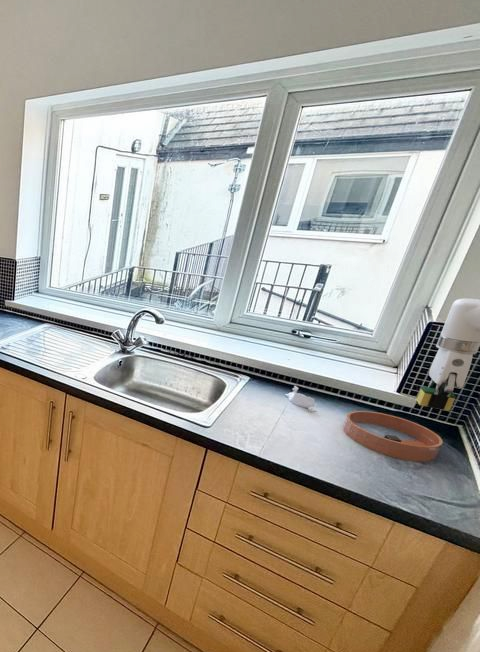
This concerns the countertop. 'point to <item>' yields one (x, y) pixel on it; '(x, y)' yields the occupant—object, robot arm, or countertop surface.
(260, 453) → the countertop surface
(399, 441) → the crumb
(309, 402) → the wrapped candy
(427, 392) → the sponge
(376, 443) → the terracotta oval ring
